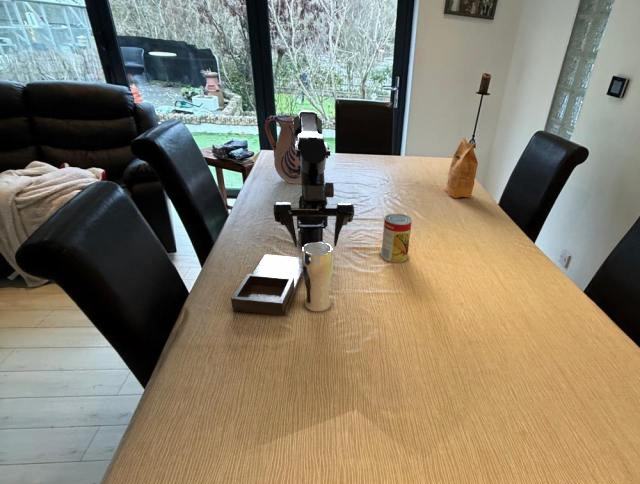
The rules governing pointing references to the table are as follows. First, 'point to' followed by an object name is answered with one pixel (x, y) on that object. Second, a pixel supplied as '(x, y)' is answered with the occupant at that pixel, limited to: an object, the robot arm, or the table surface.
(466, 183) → the coffee package
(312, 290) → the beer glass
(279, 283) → the dark rectangular tray
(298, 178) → the ceramic pitcher
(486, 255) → the table surface
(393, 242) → the canned food
